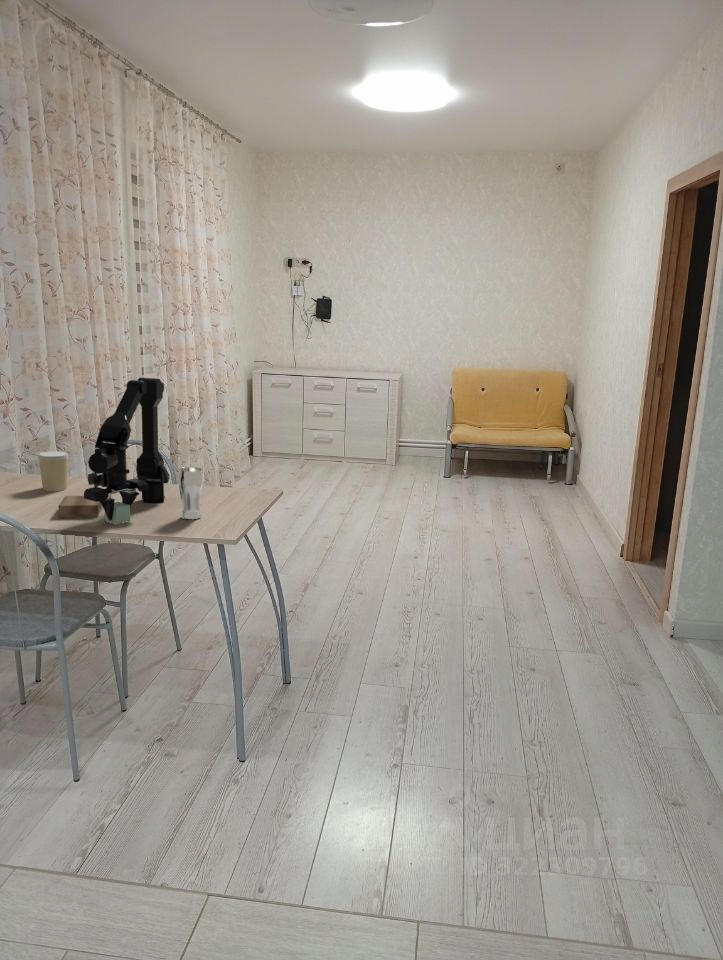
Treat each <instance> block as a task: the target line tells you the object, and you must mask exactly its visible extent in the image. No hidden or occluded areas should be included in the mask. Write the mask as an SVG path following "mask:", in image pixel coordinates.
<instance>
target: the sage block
mask: <svg viewBox="0 0 723 960" xmlns="http://www.w3.org/2000/svg"><path fill="white" fill-rule="evenodd" d="M105 521H108V522H111V523H115V524H118V525H120V524H119V523H122V524H124V523H123V522H126V521H129V522H131V508H130V505H128V504H125V503H122V501H121V502H120V501H117V502H114V510H113V517H112V520H109V519H108V517H107V515H106V513H105V512H104V522H105ZM108 522H107V523H108ZM111 523H110V524H111ZM126 523H127V522H126ZM115 524H114V525H115Z"/></svg>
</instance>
